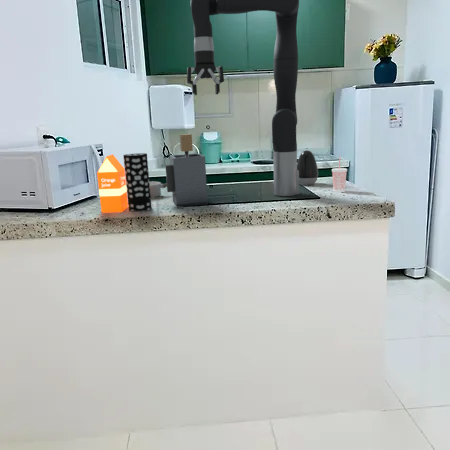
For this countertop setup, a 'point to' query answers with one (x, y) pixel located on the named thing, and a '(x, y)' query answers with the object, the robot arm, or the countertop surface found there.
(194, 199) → the tall grey box
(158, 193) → the saucepan
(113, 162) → the orange juice
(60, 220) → the countertop surface
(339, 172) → the beverage cup
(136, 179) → the spotted tube
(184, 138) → the plunger
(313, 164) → the dark grey egg shape
